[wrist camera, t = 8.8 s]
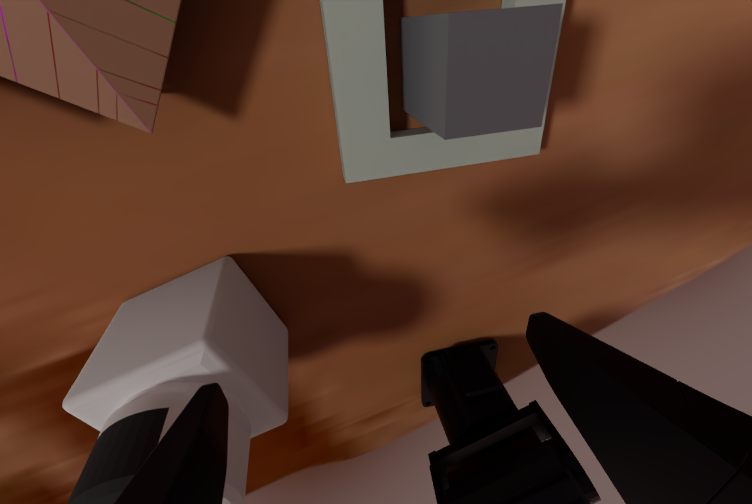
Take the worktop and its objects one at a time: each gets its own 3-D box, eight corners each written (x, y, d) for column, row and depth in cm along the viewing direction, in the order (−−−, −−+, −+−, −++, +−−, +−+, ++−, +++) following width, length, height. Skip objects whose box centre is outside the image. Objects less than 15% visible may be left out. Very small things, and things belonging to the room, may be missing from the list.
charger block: (475, 100, 19) (541, 126, 14) (402, 109, 18) (444, 140, 13) (481, 10, 17) (563, 3, 12) (400, 17, 16) (448, 13, 11)
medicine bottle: (197, 369, 25) (136, 598, 15) (120, 301, 21) (-33, 549, 11) (290, 329, 25) (290, 533, 15) (229, 251, 21) (175, 459, 11)
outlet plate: (527, 148, 21) (547, 158, 19) (343, 175, 20) (348, 189, 18) (584, -223, 13) (626, -258, 12) (289, -222, 12) (290, -262, 10)
